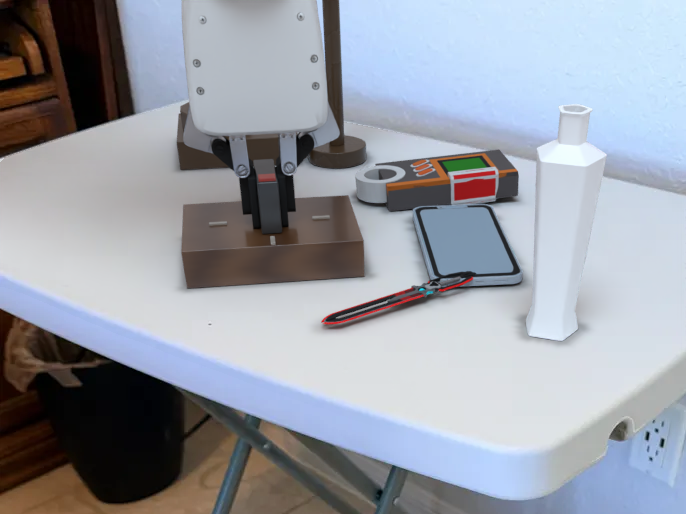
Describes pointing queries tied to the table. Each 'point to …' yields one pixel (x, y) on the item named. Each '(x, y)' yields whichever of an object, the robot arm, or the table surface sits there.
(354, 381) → the table surface
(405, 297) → the toy sword
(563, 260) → the white vase
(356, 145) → the lamp
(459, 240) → the smartphone
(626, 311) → the table surface
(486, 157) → the electronic device
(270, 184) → the dimmer knob
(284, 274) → the panel
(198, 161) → the button base
